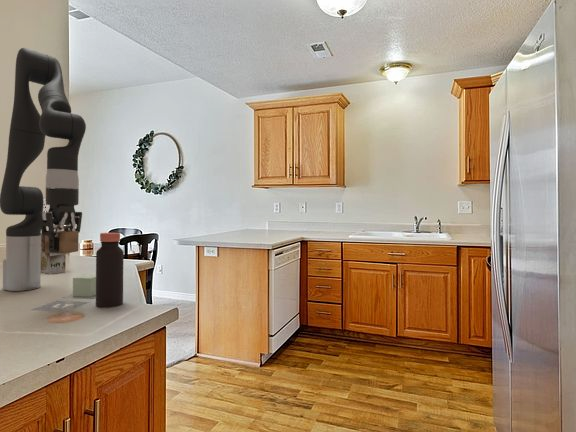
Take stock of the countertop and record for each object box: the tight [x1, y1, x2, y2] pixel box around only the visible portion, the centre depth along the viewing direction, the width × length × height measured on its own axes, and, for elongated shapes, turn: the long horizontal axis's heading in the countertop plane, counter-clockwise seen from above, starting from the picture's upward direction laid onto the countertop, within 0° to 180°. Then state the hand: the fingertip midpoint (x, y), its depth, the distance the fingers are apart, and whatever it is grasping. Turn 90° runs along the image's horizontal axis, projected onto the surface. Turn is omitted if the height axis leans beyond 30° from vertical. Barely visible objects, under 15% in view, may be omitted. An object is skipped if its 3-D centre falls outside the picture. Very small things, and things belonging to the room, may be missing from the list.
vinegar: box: [95, 232, 125, 309], centre depth 102 cm, size 7×7×20 cm
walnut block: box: [45, 230, 80, 254], centre depth 99 cm, size 6×6×6 cm
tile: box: [31, 300, 90, 313], centre depth 99 cm, size 10×10×1 cm
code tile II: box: [61, 293, 96, 300], centre depth 112 cm, size 10×10×1 cm
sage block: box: [72, 274, 96, 297], centre depth 112 cm, size 6×6×6 cm
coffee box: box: [41, 232, 67, 275], centre depth 152 cm, size 9×6×16 cm
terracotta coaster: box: [45, 311, 85, 324], centre depth 89 cm, size 8×8×1 cm
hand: (61, 250), depth 99 cm, fingers closed on walnut block, 5 cm apart
